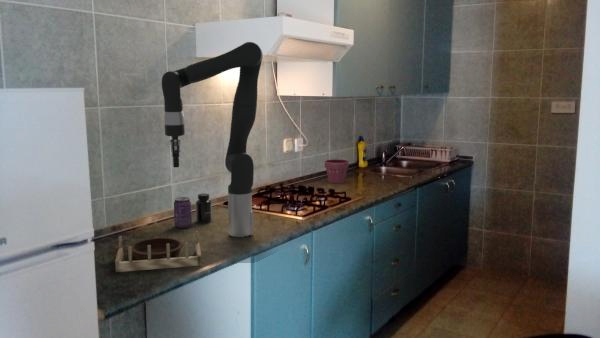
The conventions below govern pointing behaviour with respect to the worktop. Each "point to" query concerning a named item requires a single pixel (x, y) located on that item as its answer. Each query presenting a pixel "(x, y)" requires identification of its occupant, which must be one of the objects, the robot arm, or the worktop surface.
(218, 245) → the worktop surface
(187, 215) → the beverage can
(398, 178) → the worktop surface
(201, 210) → the supplement bottle
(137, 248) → the dish
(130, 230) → the worktop surface
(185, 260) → the rack
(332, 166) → the plant pot
